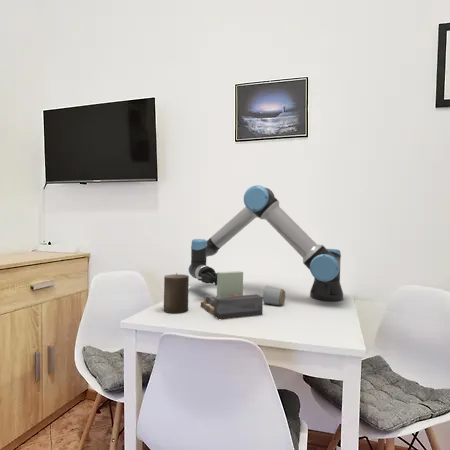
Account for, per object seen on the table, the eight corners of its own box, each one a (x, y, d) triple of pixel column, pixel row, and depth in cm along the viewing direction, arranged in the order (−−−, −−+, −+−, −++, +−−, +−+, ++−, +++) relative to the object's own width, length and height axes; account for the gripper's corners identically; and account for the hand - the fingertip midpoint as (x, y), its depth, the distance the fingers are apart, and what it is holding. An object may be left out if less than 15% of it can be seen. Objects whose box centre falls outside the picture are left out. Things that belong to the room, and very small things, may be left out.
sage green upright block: (216, 304, 144) (217, 272, 144) (239, 302, 148) (239, 271, 148) (219, 306, 141) (220, 273, 141) (242, 304, 145) (243, 272, 145)
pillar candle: (186, 313, 138) (187, 274, 138) (161, 313, 138) (162, 274, 138) (189, 307, 148) (190, 271, 148) (165, 307, 148) (166, 270, 148)
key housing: (200, 306, 150) (200, 288, 150) (239, 303, 157) (240, 285, 157) (219, 319, 131) (219, 299, 131) (262, 315, 139) (262, 295, 138)
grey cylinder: (280, 307, 151) (281, 289, 150) (262, 305, 154) (262, 287, 154) (287, 302, 160) (288, 285, 160) (270, 300, 164) (270, 283, 164)
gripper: (218, 281, 172) (240, 291, 150) (192, 282, 167) (211, 293, 145) (218, 265, 172) (240, 273, 150) (192, 266, 166) (211, 274, 145)
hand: (226, 283), depth 148 cm, fingers closed
